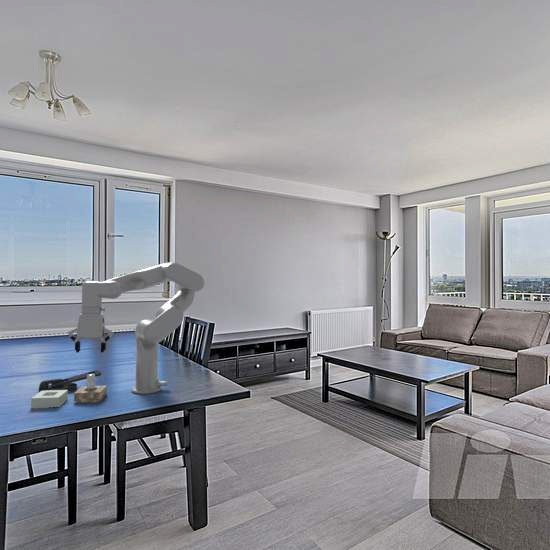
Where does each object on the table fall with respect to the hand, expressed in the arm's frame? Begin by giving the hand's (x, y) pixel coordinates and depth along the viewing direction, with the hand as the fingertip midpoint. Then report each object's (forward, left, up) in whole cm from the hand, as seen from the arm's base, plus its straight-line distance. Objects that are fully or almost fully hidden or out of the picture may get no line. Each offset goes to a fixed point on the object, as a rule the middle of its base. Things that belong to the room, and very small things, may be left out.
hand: (90, 351), depth 169 cm
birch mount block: (0, 0, -20) cm, 20 cm away
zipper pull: (+12, -15, -20) cm, 28 cm away
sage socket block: (+14, +5, -20) cm, 24 cm away
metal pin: (0, 0, -20) cm, 20 cm away
